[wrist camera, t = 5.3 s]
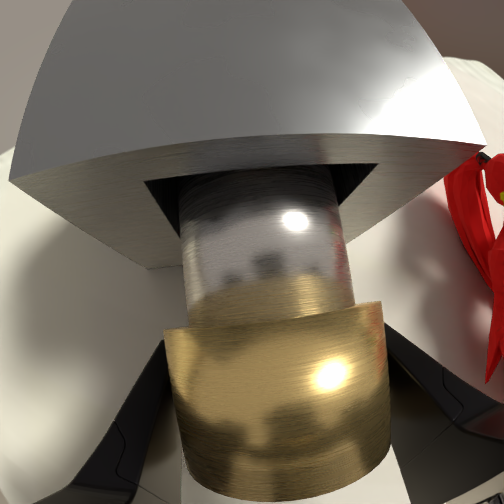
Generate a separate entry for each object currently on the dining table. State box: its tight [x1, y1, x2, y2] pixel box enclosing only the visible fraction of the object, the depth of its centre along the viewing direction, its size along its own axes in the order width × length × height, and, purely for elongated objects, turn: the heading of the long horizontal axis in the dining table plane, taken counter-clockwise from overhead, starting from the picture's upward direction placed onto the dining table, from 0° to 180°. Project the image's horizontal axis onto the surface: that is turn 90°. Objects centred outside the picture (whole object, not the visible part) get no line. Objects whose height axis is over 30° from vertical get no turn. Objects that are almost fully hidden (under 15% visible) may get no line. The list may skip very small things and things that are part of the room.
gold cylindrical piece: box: [163, 164, 391, 502], centre depth 9 cm, size 8×6×6 cm
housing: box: [8, 0, 487, 269], centre depth 12 cm, size 7×11×12 cm, turn 97°
